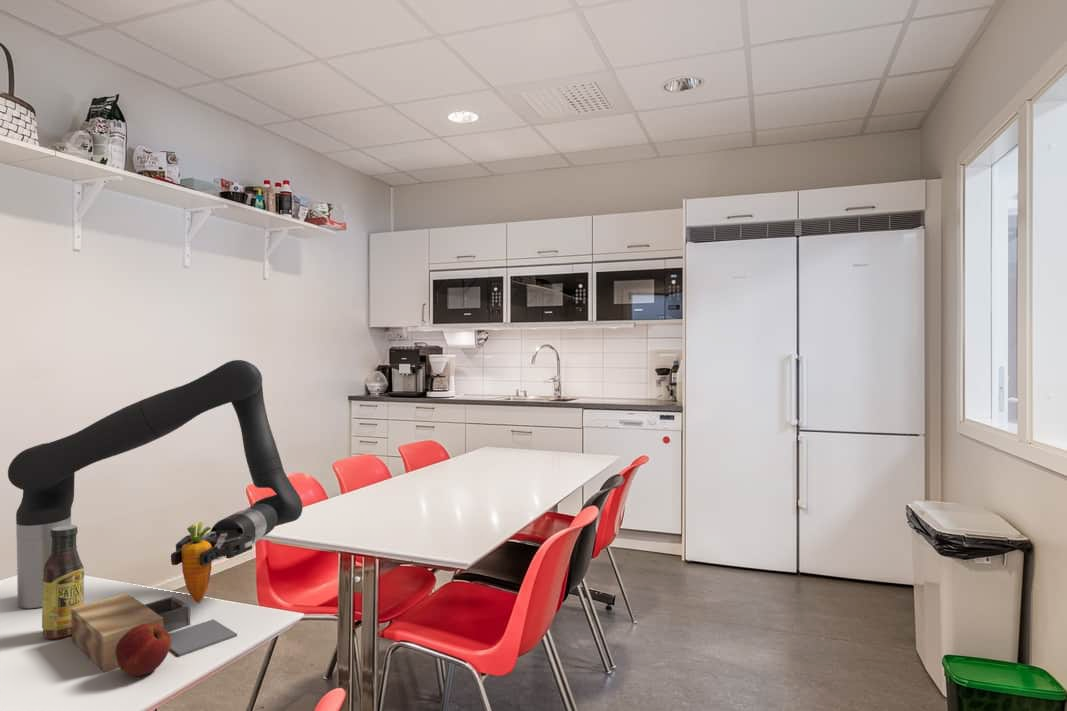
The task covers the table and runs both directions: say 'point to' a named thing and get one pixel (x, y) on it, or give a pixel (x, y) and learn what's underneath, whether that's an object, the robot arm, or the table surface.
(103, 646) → the wooden drawer box
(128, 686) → the table surface
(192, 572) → the carrot
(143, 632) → the apple
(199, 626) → the rubber mat
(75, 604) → the sauce bottle
